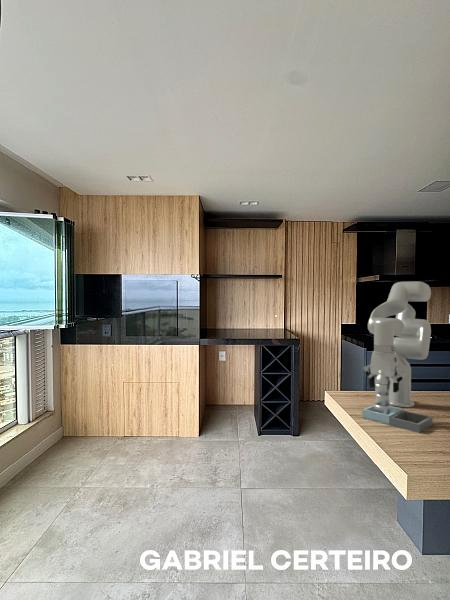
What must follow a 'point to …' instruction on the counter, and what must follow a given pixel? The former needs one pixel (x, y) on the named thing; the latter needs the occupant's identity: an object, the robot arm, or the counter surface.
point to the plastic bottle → (382, 394)
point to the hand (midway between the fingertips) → (383, 389)
